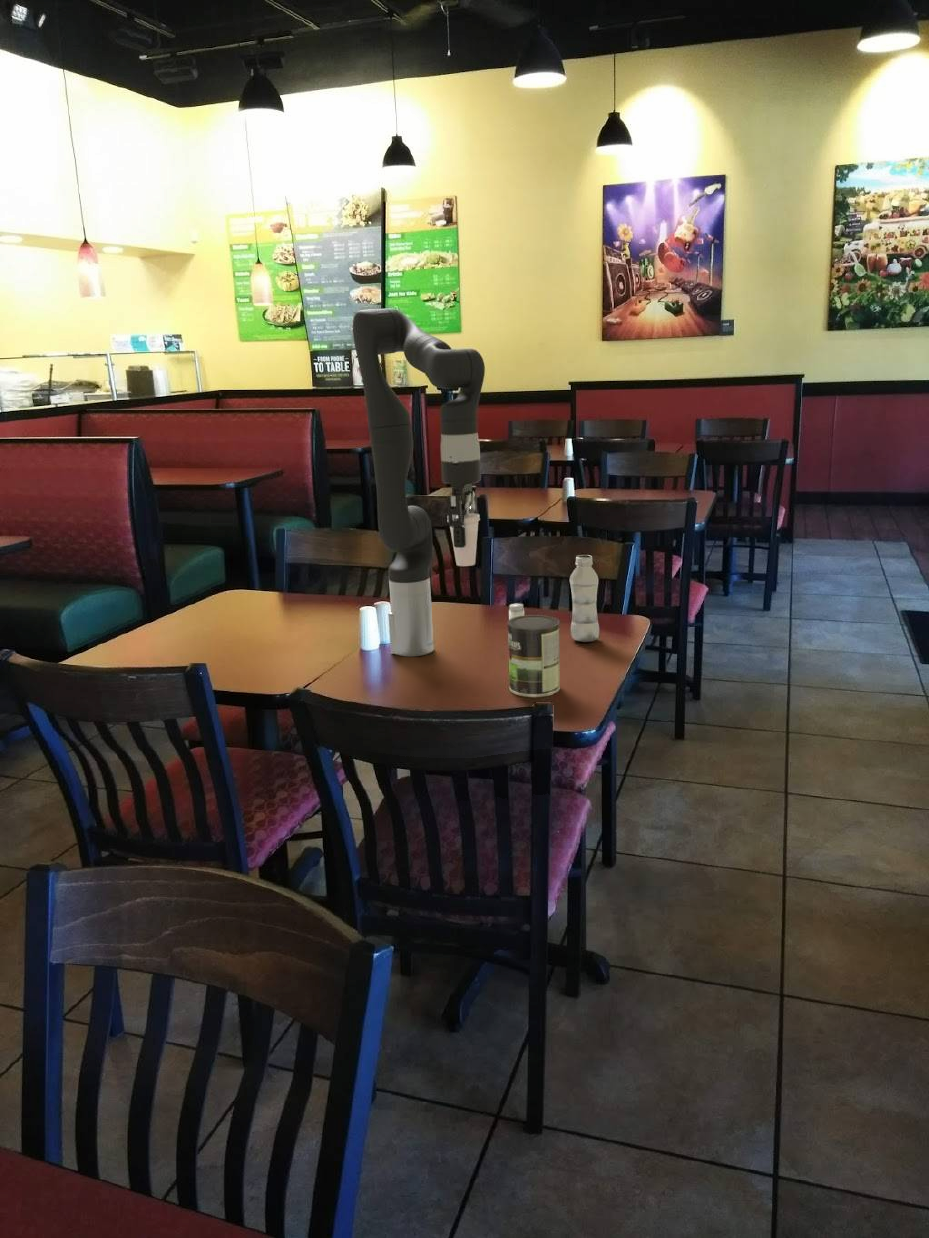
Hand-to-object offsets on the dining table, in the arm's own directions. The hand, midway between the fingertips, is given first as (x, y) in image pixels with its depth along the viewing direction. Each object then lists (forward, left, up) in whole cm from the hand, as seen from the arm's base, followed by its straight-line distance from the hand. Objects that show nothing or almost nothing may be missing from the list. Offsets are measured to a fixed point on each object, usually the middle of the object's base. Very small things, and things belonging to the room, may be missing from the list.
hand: (464, 543), depth 183 cm
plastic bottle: (+19, +33, -30) cm, 49 cm away
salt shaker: (+3, +33, -30) cm, 45 cm away
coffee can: (+13, 0, -30) cm, 33 cm away
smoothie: (0, 0, -4) cm, 4 cm away
